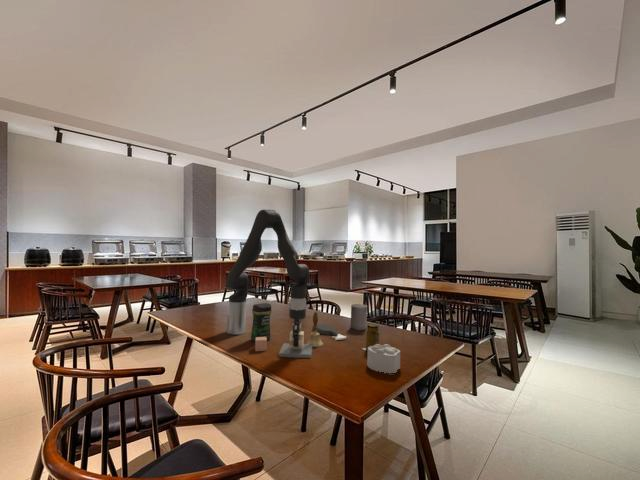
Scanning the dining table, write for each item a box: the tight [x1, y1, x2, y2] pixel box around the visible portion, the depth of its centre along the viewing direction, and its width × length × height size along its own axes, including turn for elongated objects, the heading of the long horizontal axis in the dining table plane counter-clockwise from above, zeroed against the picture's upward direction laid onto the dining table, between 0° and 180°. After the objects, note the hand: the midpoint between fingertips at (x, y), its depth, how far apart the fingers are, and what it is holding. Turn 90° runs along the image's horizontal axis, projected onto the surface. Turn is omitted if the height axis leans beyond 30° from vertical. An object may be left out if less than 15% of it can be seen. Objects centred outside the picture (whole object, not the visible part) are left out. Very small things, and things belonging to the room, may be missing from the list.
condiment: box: [361, 323, 380, 353], centre depth 147 cm, size 7×8×12 cm
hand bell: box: [306, 311, 324, 348], centre depth 154 cm, size 8×8×16 cm
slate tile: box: [278, 342, 313, 359], centre depth 142 cm, size 14×14×2 cm
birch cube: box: [289, 330, 305, 348], centre depth 142 cm, size 6×6×6 cm
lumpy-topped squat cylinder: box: [366, 343, 401, 375], centre depth 127 cm, size 10×13×9 cm
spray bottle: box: [312, 323, 347, 341], centre depth 173 cm, size 3×11×24 cm
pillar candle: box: [349, 303, 368, 331], centre depth 187 cm, size 10×10×15 cm
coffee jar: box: [250, 302, 272, 342], centre depth 159 cm, size 10×8×19 cm
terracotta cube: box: [254, 337, 268, 352], centre depth 145 cm, size 5×5×5 cm
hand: (296, 343), depth 142 cm, fingers closed on birch cube, 6 cm apart
